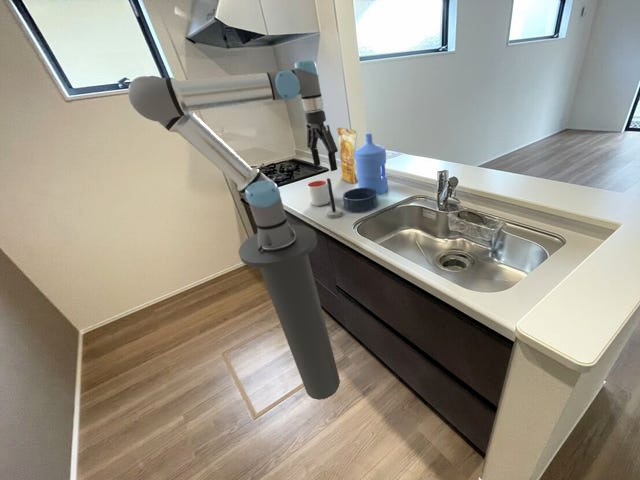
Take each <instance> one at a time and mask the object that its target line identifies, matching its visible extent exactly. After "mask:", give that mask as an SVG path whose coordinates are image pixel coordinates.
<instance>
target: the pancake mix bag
mask: <svg viewBox="0 0 640 480" xmlns="http://www.w3.org/2000/svg"><path fill="white" fill-rule="evenodd" d="M336 131H337V139H338V148H339V157H340V158H339V159H340V168H341V169H340V171H341V179H342V180H343V181H346V182H348V183H349V184H356V183H358V180H357V177H356V176H357V175H356V167H355V166H356V160H355V151H356V147H357V138H358V137H357V136H358V135H357V131H356V130H354V129H350V128H345V127H337V128H336Z"/></svg>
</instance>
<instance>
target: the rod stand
mask: <svg viewBox="0 0 640 480" xmlns="http://www.w3.org/2000/svg"><path fill="white" fill-rule="evenodd" d="M326 182H327V184H328V190H329V195H330V205H331V209H330V210H328V211H327V217H328V218H329V219H337V218H339V217H341V216H342V214H343V213H342V210H341V209H339V208H336V204H335V203H336V202H335V199H334V198H335V197H334V192H333V187H332V180H331V178H329V177H327V178H326Z"/></svg>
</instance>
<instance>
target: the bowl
mask: <svg viewBox="0 0 640 480" xmlns="http://www.w3.org/2000/svg"><path fill="white" fill-rule="evenodd" d="M342 202H343V206H344V207H343V208H344V210H345V211H346V212H350V213H366V212H370V211H372V210H375V209H376V208H377V207H379V195H378V194H377V190H375V189H373V188H359V187H357V188H356V187H355V188H351V189H349V190H347V191H345V192H343V194H342Z"/></svg>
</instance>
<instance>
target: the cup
mask: <svg viewBox="0 0 640 480" xmlns="http://www.w3.org/2000/svg"><path fill="white" fill-rule="evenodd" d="M306 186H307V190H308V196H309V200H310V204H312V206H315V207H319V206H321V207H322V206H325V205H327V204H329V203H331V201H330V195H329V190H328V184H327V180H314V181H311V182H309V183H308V184H307V185H306Z"/></svg>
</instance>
